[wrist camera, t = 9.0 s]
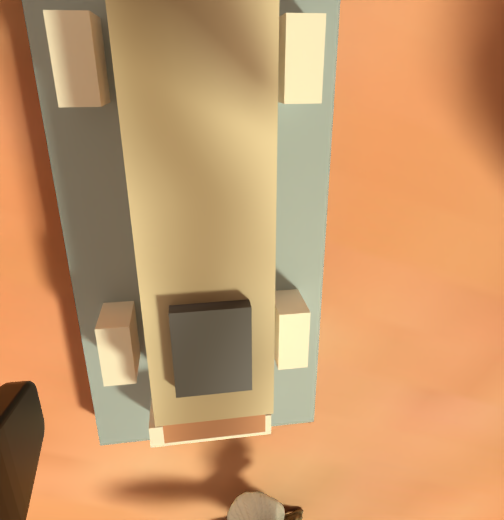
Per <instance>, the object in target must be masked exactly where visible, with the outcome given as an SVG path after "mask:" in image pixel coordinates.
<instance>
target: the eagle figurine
mask: <svg viewBox="0 0 504 520" xmlns="http://www.w3.org/2000/svg"><path fill="white" fill-rule="evenodd" d="M284 510H285V509H284V506H283V505H282V504H281V503H279V502H278V501H277V500H276V499H274V498H272V497H269V496H267V495H266V494H264V493H263V492H260V491H255V492H244V493H243V494H241V495H238V496H237V497H236V499H235V500H234V502H233V503H232V504H231V506H230V509H229V511H228V513H227V520H302V513H303V510H302V509H298V510H295V511H293V512H292V513H289V514H286V515H285V511H284Z"/></svg>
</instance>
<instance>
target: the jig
mask: <svg viewBox="0 0 504 520" xmlns="http://www.w3.org/2000/svg"><path fill="white" fill-rule="evenodd" d="M22 5H23V11H24V16H25V22H26V28H27V33H28V39H29V45H30V50H31V56H32V62H33V67H34V73H35V79H36V84H37V90H38V96H39V101H40V107H41V113H42V118H43V124H44V130H45V135H46V141H47V146H48V152H49V158H50V163H51V169H52V175H53V180H54V186H55V192H56V197H57V203H58V209H59V214H60V220H61V226H62V231H63V237H64V243H65V248H66V254H67V260H68V265H69V271H70V277H71V282H72V288H73V294H74V299H75V305H76V311H77V316H78V322H79V327H80V333H81V339H82V344H83V350H84V356H85V361H86V367H87V373H88V378H89V384H90V390H91V395H92V401H93V407H94V412H95V418H96V424H97V429H98V435H99V441H100V445H109V444H118V443H127V442H136V441H145V440H150V445H151V447H160V446H169V445H178V444H187V443H195V442H204V441H213V440H222V439H230V438H239V437H248V436H257V435H266V434H271V426H279V425H288V424H297V423H306V422H314V411H315V395H316V379H317V363H318V347H319V331H320V315H321V299H322V283H323V267H324V252H325V236H326V220H327V204H328V188H329V172H330V156H331V140H332V124H333V109H334V93H335V77H336V61H337V45H338V29H339V13H340V0H279V62H278V132H277V202H276V272H275V342H274V412H273V414H266V415H265V432H259V433H250V434H241V435H233V436H224V437H215V438H207V439H198V440H190V441H181V442H172V443H164V434H163V426H157V427H155V422H154V414H153V405H152V397H151V388H150V379H149V371H148V362H147V354H146V345H145V337H144V328H143V320H142V311H141V302H140V294H139V285H138V277H137V268H136V260H135V251H134V243H133V234H132V225H131V217H130V208H129V200H128V191H127V183H126V174H125V166H124V157H123V148H122V140H121V131H120V123H119V114H118V106H117V97H116V88H115V80H114V71H113V63H112V54H111V46H110V37H109V29H108V20H107V11H106V3H105V0H22Z"/></svg>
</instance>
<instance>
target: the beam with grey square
mask: <svg viewBox="0 0 504 520" xmlns="http://www.w3.org/2000/svg"><path fill="white" fill-rule="evenodd" d="M105 3H106V11H107V20H108V29H109V37H110V46H111V54H112V63H113V71H114V80H115V88H116V97H117V106H118V114H119V123H120V131H121V140H122V148H123V157H124V166H125V174H126V183H127V191H128V200H129V208H130V217H131V225H132V234H133V243H134V251H135V260H136V268H137V277H138V285H139V294H140V302H141V311H142V320H143V328H144V337H145V345H146V354H147V362H148V371H149V379H150V388H151V397H152V405H153V414H154V422H155V427H157V426H163V434H164V443H172V442H181V441H190V440H198V439H207V438H215V437H224V436H233V435H241V434H250V433H259V432H265V415H266V414H273V412H274V342H275V272H276V202H277V132H278V62H279V0H105Z"/></svg>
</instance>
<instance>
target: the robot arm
mask: <svg viewBox="0 0 504 520" xmlns="http://www.w3.org/2000/svg"><path fill="white" fill-rule="evenodd" d="M43 437H44V418H43V414H42V409H41V405H40V401H39V397H38V392H37V389H36V386H35V384H34V383H33V382H31V381H21V382H10V383H5V384H3V385H2V386H0V520H26V517H27V513H28V508H29V503H30V498H31V494H32V489H33V484H34V480H35V475H36V470H37V465H38V461H39V456H40V451H41V447H42V442H43Z"/></svg>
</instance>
